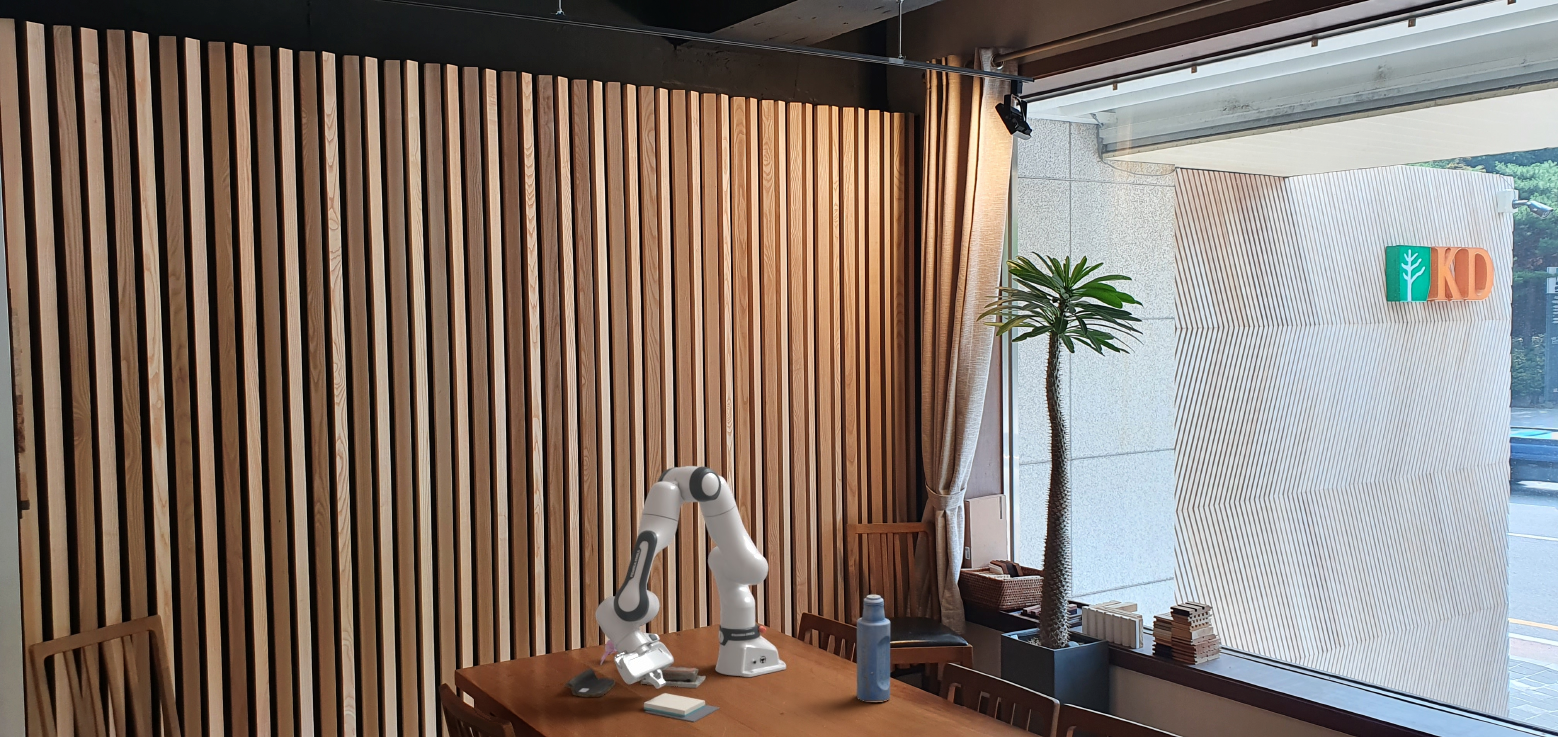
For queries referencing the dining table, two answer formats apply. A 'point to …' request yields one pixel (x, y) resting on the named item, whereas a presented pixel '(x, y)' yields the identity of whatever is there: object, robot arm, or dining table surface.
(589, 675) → the pottery fragment
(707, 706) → the mat
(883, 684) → the bottle
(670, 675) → the packaged product
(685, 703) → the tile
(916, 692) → the dining table surface
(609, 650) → the lily
